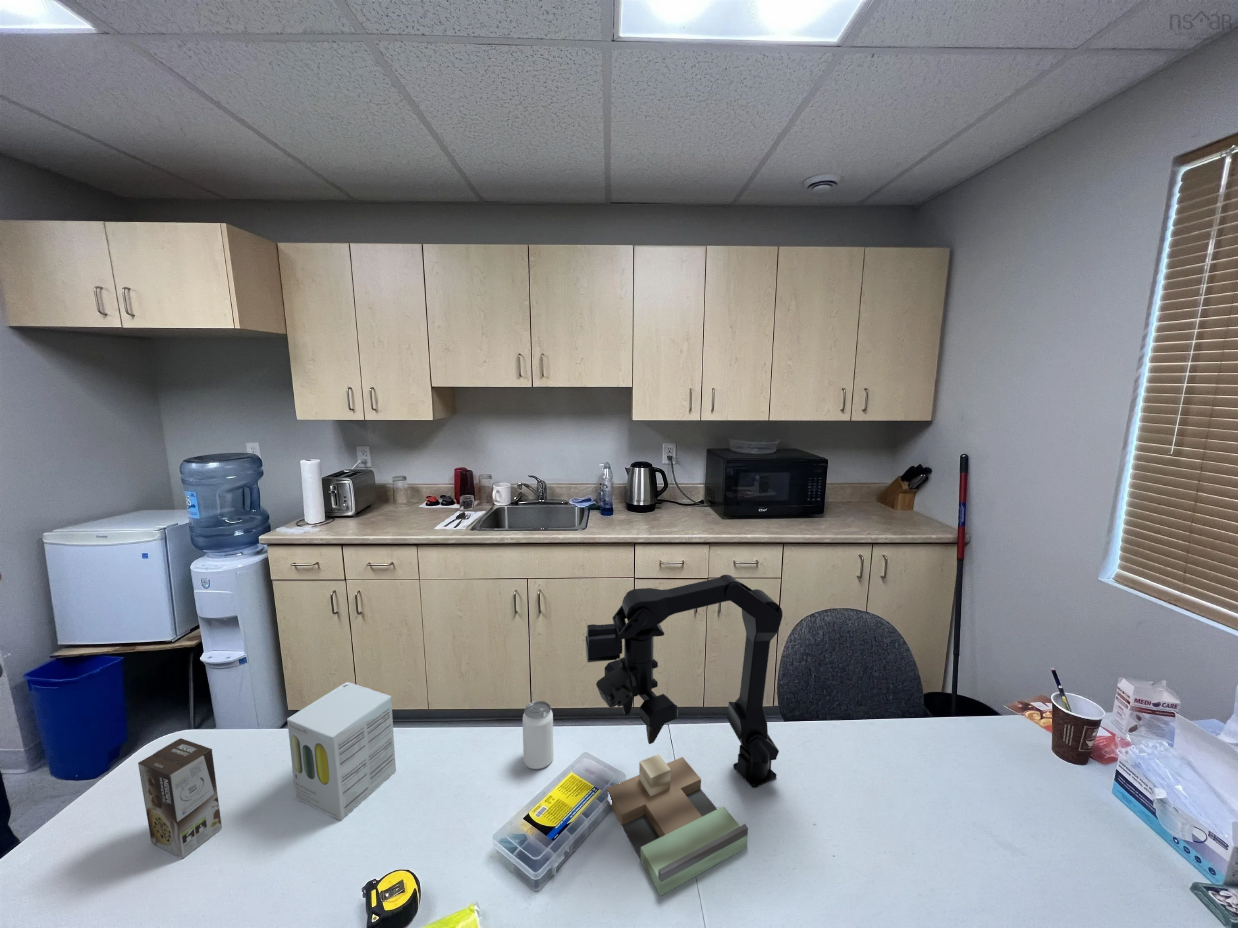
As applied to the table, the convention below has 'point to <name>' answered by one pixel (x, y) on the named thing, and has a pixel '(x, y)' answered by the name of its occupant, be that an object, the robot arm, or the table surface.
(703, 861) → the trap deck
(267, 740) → the table surface
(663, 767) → the maple block
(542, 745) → the can
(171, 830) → the coffee box
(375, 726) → the supplement box
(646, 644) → the robot arm
